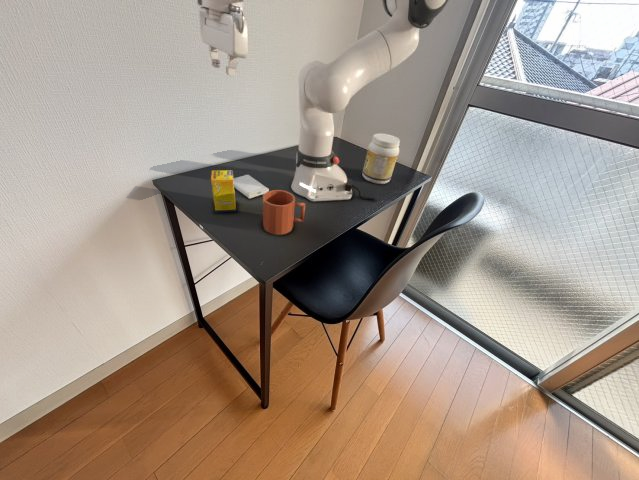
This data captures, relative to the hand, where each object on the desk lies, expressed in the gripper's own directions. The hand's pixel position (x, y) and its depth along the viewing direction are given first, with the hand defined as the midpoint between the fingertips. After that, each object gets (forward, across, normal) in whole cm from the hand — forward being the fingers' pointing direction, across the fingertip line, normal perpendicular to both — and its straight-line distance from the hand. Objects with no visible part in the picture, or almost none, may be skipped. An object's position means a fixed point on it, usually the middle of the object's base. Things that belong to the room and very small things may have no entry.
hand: (222, 71), depth 71 cm
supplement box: (+35, -10, +3) cm, 37 cm away
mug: (+34, -27, -7) cm, 44 cm away
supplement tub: (+29, -16, -59) cm, 68 cm away
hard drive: (+34, -2, -9) cm, 36 cm away
